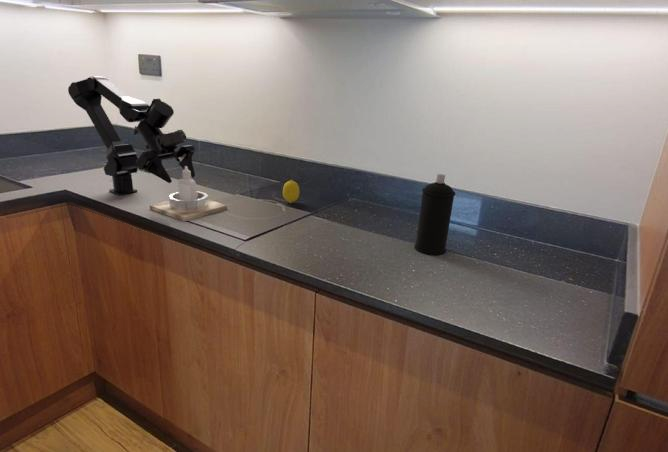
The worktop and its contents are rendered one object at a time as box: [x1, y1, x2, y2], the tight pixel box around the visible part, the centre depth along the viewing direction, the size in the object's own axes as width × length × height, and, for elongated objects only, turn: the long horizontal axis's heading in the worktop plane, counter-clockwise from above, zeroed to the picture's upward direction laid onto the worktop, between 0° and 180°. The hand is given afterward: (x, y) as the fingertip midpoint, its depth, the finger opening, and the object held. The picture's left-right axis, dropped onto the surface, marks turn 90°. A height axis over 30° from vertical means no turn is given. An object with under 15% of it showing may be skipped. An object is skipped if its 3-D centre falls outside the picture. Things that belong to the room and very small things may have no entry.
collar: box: [168, 190, 209, 211], centre depth 129 cm, size 11×11×3 cm
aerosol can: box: [414, 173, 456, 256], centre depth 108 cm, size 8×8×20 cm
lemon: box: [282, 179, 300, 204], centre depth 141 cm, size 6×6×8 cm
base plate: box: [149, 199, 228, 222], centre depth 130 cm, size 16×16×1 cm
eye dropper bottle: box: [177, 166, 197, 200], centre depth 128 cm, size 4×6×12 cm
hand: (182, 179), depth 128 cm, fingers open, 9 cm apart
